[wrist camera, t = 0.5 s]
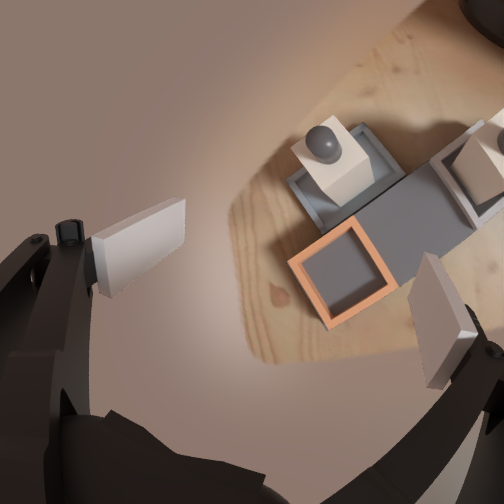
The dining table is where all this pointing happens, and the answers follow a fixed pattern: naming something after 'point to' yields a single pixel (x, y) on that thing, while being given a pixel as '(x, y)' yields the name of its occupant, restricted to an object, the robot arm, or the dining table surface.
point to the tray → (333, 215)
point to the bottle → (335, 161)
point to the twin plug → (483, 161)
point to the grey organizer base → (391, 238)
